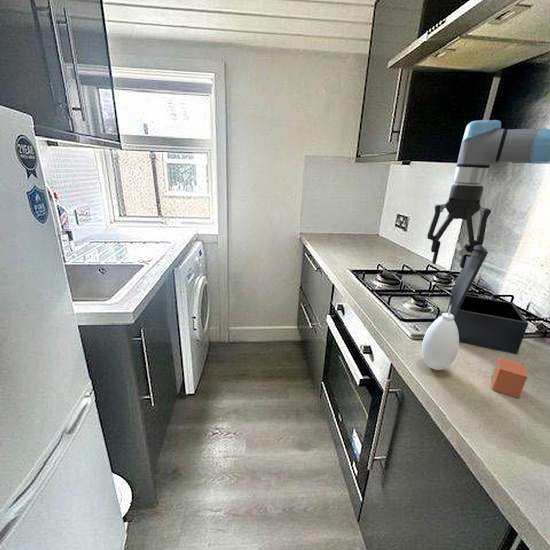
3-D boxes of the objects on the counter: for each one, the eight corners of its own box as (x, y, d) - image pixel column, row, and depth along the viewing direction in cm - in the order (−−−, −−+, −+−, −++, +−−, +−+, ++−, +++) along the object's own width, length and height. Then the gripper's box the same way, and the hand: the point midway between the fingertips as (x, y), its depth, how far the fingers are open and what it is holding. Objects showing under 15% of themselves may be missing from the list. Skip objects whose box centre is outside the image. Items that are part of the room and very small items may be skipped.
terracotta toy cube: (516, 385, 72) (524, 364, 70) (518, 398, 68) (527, 377, 66) (491, 377, 75) (498, 357, 72) (492, 389, 71) (500, 368, 68)
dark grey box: (504, 330, 96) (513, 302, 92) (516, 354, 84) (528, 323, 81) (444, 319, 102) (451, 292, 98) (449, 339, 90) (457, 310, 87)
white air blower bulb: (447, 361, 80) (465, 300, 74) (454, 380, 73) (474, 315, 67) (415, 355, 82) (430, 295, 76) (419, 373, 75) (435, 309, 69)
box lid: (478, 240, 91) (457, 235, 92) (488, 252, 79) (464, 245, 81) (453, 291, 98) (434, 285, 100) (459, 309, 86) (437, 302, 88)
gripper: (507, 185, 81) (483, 266, 90) (427, 181, 88) (412, 256, 97) (515, 188, 75) (488, 274, 83) (428, 183, 82) (411, 263, 90)
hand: (447, 264), depth 90 cm, fingers open, 7 cm apart
